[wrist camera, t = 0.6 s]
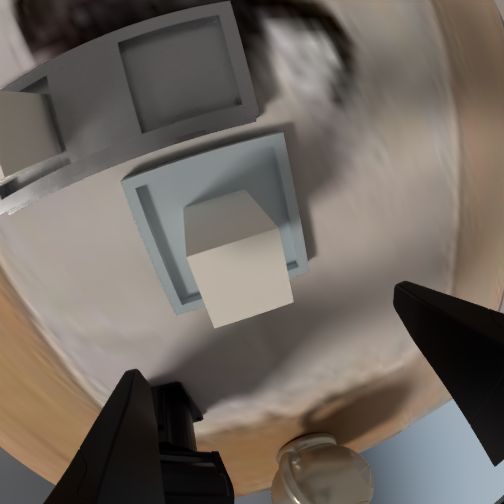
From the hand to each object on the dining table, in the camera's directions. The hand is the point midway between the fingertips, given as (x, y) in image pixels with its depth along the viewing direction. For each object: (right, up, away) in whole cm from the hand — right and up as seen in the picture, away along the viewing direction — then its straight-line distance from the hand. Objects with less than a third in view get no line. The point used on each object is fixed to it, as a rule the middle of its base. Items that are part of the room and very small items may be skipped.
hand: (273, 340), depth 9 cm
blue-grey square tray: (-3, +5, +11) cm, 12 cm away
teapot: (+6, -24, +27) cm, 36 cm away
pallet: (-10, +12, +6) cm, 16 cm away
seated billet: (-14, +10, +4) cm, 18 cm away
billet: (-3, +4, +10) cm, 12 cm away
